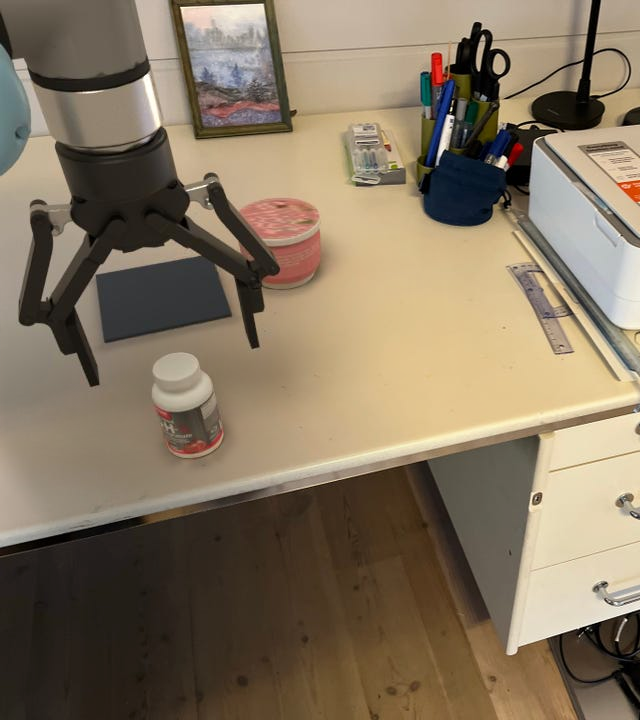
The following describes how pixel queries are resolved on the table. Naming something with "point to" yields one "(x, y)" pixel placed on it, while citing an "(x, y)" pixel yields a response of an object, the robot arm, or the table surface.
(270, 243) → the container
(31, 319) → the robot arm
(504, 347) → the table surface
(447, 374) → the table surface
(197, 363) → the pill bottle
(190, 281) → the mat
